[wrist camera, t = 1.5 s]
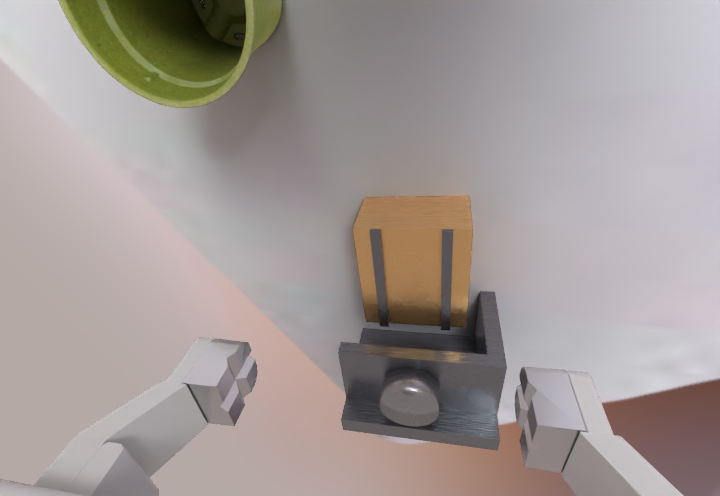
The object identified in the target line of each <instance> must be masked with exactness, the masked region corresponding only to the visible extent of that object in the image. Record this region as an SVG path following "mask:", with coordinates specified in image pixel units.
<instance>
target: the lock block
mask: <svg viewBox="0 0 720 496" xmlns="http://www.w3.org/2000/svg"><path fill="white" fill-rule="evenodd" d="M353 234H354V241H355V248H356V255H357V262H358V269H359V276H360V283H361V290H362V297H363V304H364V311H365V318H366V322H380V326H386V327H389V323H397V324H415V325H432V326H441V330H450V327H467V312H468V296H469V281H470V266H471V251H472V236H473V225H472V216H471V206H470V197H469V196H416V197H365V198H364V201H363V203H362V206H361V209H360V211H359V214H358V216H357V219H356V222H355V224H354V227H353Z"/></svg>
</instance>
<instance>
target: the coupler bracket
mask: <svg viewBox="0 0 720 496" xmlns="http://www.w3.org/2000/svg"><path fill="white" fill-rule="evenodd" d="M338 353H339V359H340V364H341V370H342V376H343V381H344V387H345V392H346V402H345V406H344V410H343V414H342V418H341V421H342V426H343V429H344V430H350V431H357V432H365V433H372V434H379V435H387V436H394V437H402V438H409V439H417V440H424V441H432V442H439V443H447V444H454V445H461V446H469V447H477V448H484V449H492V450H498V446H499V442H500V437H499V428H498V420H497V412H498V407H499V403H500V398H501V393H502V388H503V383H504V378H505V373H506V369H507V366H506V360H505V354H504V348H503V341H502V335H501V329H500V322H499V316H498V310H497V303H496V297H495V292H483V291H480V298H479V306H478V315H477V323H476V331H475V337H469V336H456V335H443V334H431V333H418V332H405V331H392V330H379V329H366V328H363V331H362V335H361V339H360V343H359V344H357V343H345V342H341V345H340V348H339V352H338Z"/></svg>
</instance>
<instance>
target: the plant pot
mask: <svg viewBox="0 0 720 496" xmlns="http://www.w3.org/2000/svg"><path fill="white" fill-rule="evenodd" d="M58 1H59V3H60V5H61V7H62V9H63V11H64V13H65V15H66V17H67V19H68V21H69V23H70V24H71V26H72V28H73V30H74V32H75V33H76V35H77V36H78V38H79V39H80V40H81V42H82V44H83V45H84V46H85V47H86V48H87V50H88V51H89V52H90V53H91V55H92V56H93V57H94V59H95V60H96V61H97V62H98V63H99V64H100V65H101V66H102V67H103V68H104V69H105V70H106V71H107V72H108V73H109V74H110V75H111V76H112V77H113V78H115V79H116V80H117V81H118V82H120V83H121V84H122V85H123V86H125V87H126V88H128V89H129V90H131V91H133V92H134V93H136V94H138V95H140V96H142V97H144V98H146V99H149V100H151V101H153V102H156V103H158V104H161V105H165V106H170V107H177V108H190V107H198V106H202V105H206V104H208V103H211V102H213V101H215V100H217V99H219V98H220V97H222V96H223V95H224V94H226V93H227V92H228V91H229V90H230V89H231V88H232V87H233V86H234V85H235V84H236V83H237V82H238V80H239V79H240V77H241V76H242V74H243V72H244V70H245V68H246V66H247V64H248V61H249V58H250V55H251V54H252V53H253V52H254V51H255V50H256V49H257V48H258V47H260V46H261V45H262V44H263V43H264V42H265V41H267V40H268V39H269V37H270V36H271V35H272V33H273V32H274V30H275V28H276V26H277V24H278V22H279V19H280V15H281V11H282V0H203V1H204V6H205V7H206V8H205V9H204V8H203V7H202V6H201V4H200V2H199V0H58ZM235 33H238V34H245V33H246V35H245V39H244V40H239V39H236V38H235V36H234V35H235Z"/></svg>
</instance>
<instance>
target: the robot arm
mask: <svg viewBox="0 0 720 496" xmlns="http://www.w3.org/2000/svg"><path fill="white" fill-rule="evenodd" d="M250 352H251V349H250V346H249V344H248V343H247V342H240V341H231V340H223V339H214V338H205V337H200V338H198V339H196V340H195V341H194V342H193V344H192V345H191V347H190V348H189V349H188V351H187V352H186V354H185V355H184V356H183V358H182V359H181V361H180V362H179V364H178V365H177V366H176V368H175V369H174V370H173V372H172V373H171V374H170V376H169V377H168V379H167V380H166V381H161V382H159V383H157V384H156V385H154V386H152V387H151V388H149V389H148V390H146V391H145V392H143V393H141V394H140V395H138V396H137V397H135V398H133V399H132V400H130V401H129V402H127V403H126V404H124V405H122V406H121V407H119V408H118V409H116V410H115V411H113V412H111V413H110V414H108V415H107V416H105V417H103V418H102V419H100V420H99V421H97V422H96V423H94V424H92V425H91V426H89V427H88V428H86V429H84V430H83V431H81V432H80V433H78V434H77V435H75V437H74V438H73V439H72V440H71V441H70V443H69V444H68V445H67V446H66V447H65V449H64V450H63V451H62V452H61V453H60V455H59V456H58V457H57V458H56V459H55V461H54V462H53V463H52V464H51V465H50V467H49V468H48V469H47V470H46V471H45V473H44V474H43V475H42V476H41V477H40V479H39V480H38V481H37V483H35V485H29V484H24V483H18V482H13V481H8V480H3V479H0V496H159V490H158V488H157V487H156V485H155V484H154V483H153V482H152V481H151V479H150V477H151V476H152V475H153V474H154V473H155V472H156V471H157V470H158V469H159V468H160V467H162V466H163V465H164V464H165V463H166V462H167V461H168V460H170V459H171V458H172V457H173V456H174V455H175V454H176V453H177V452H178V451H180V450H181V449H182V448H183V447H184V446H185V445H186V444H187V443H188V442H189V441H191V440H192V439H193V438H194V437H195V436H196V435H197V434H198V433H199V432H200V431H201V430H203V429H204V428H205V427H206V426H207V425H208V423H212V424H221V425H231V426H235V424H236V422H237V420H238V418H239V416H240V414H241V412H242V410H243V408H244V405H245V404H244V399H243V398H244V397H245V396H246V395H247V394H249V393H250V392H251V391H252V389H253V387H254V385H255V382H256V377H257V365H256V362H255V360H254V359H253V358H252V357H251V356H249V354H250ZM520 381H521V384H520V385H519V386H517V389H516V394H515V412H516V419H517V424H518V425H519V426H520V427H521V428H522V429H523V430H522V434H521V438H520V443H521V449H522V455H523V461H524V466H525V467H529V468H534V469H540V470H546V471H552V472H558V473H562V476H563V477H564V479H565V480H566V482H567V483H568V484H569V486H570V487H571V489H572V490H573V491H574V493H575V494H576V496H683V495H682V494H681V493H680V492H679V491H678V490H677V489H676V488H675V487H674V486H673V485H671V484H670V483H669V482H668V481H667V480H666V479H665V478H664V477H663V476H662V475H661V474H660V473H659V472H658V471H657V470H656V469H655V468H654V467H653V466H651V465H650V464H649V463H648V462H647V461H646V460H645V459H644V458H643V457H642V456H641V455H640V454H639V453H638V452H637V451H636V450H635V449H634V448H633V447H631V446H630V445H629V444H628V443H627V442H626V441H625V440H624V439H623V438H622V437H621V436H614V435H613V432H612V430H611V427H610V424H609V422H608V419H607V417H606V414H605V412H604V409H603V406H602V404H601V401H600V398H599V396H598V393H597V391H596V388H595V385H594V383H593V380H592V378H591V376H590V375H589V374H588V373H587V372H577V371H564V370H559V369H546V368H533V367H523V368H522V369H521V372H520Z"/></svg>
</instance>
